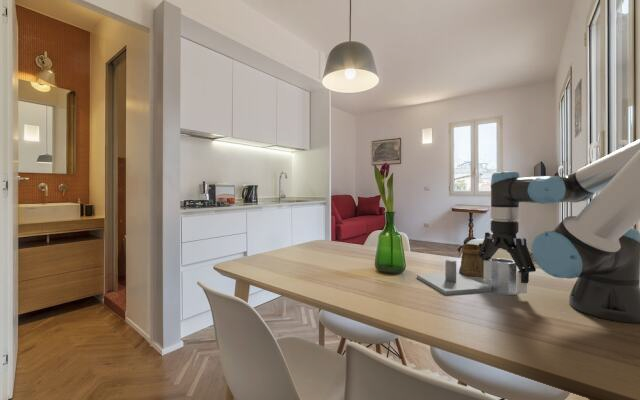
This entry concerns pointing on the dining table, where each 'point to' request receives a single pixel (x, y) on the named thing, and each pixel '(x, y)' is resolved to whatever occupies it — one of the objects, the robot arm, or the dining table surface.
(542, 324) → the dining table surface
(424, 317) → the dining table surface
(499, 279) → the sleeve
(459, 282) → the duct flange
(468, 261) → the wooden mug
